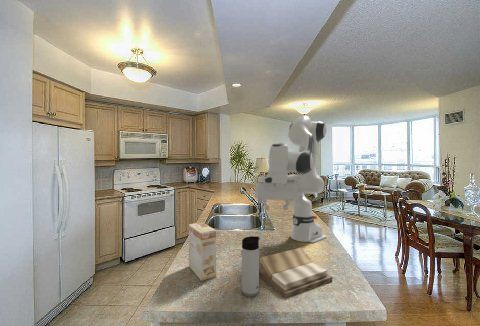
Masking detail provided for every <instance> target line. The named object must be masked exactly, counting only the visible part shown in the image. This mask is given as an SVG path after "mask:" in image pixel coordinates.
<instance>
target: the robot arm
mask: <svg viewBox="0 0 480 326" xmlns="http://www.w3.org/2000/svg"><path fill="white" fill-rule="evenodd" d="M326 134H327V126H326V124H325V122H323V121H313V120H312V119H311V118H310V117H309V116H307V115H300V116H299V117H297V118H296V119H294V121H293V123H291V124H290V125H289V129H288V134H287V135H288V138H289V141H290V142H291V143H292V144H294V145H295V146H299V148H298V151H289V145H288V144H287V143H283V142H282V143H281V142H280V143H279V142H278V143H273V144H271V145H270V149H269V154H268V166H269V167H268V171H267V174H264V175H261V176H258V177H257V183H256V184H255V190H254V197H255V199H256V200H259V201H261V202H262V204H263V208H264V209H263V210H266V211H267V210H269V209H270V207H269V206H270V205H267V202H268V200H269V201H270V200H271V201H272V200H273V201H274V200H275V201H277V200H278V201H281V200H282V201H283V200H285V204H283V207H282V209H283V210H285V211H287V210H288V209H289V205H290V204H291V201H292V205H293V206H292V207H293V208H292V209H293V214H292V229H291V233H290V238H291V240H294V241H296V242H301V243H302V242H306V243H312V244H314V243H317V242H319V241H322V240H324V239H327V235H326V234H325V233H323V228H322V226H321V225H319V224H318V223H317V222H316V221H315V220H317V219H318V216H317V215H313V204H312V201H311V200H310V199H308V198H307V197H306V196H305V194H311V195H312V194H313V195H315V194H321V193H322V192H323V190H324V189H325V182H324V179H323V177H321V176H320V175H319V174H318V172H317V167H316V161H317V155H318V153H317V152H318V144H317V143H320V142H321V141H322V140H323V139H324V138H325V137H326ZM289 173H295V174H289ZM296 173H297V174H296ZM298 173H299V174H298Z"/></svg>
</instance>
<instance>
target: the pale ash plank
mask: <svg viewBox="0 0 480 326" xmlns="http://www.w3.org/2000/svg"><path fill="white" fill-rule="evenodd" d="M327 274H328V270H327V269H326V268H324V267H322V266H320V265H318V264H316V263H314V262H313V261H312V263H309V264H305V265H302V266H299V267H295V268H292V269H289V270H285V271H282V272H279V273H275V274H272V280H273V281H274V282H275V283H276V284H278V285H279V286H280V287H281V288H283V289H284V290H287V289H290V288H293V287H296V286H299V285H301V284H304V283H307V282H310V281H313V280H316V279H318V278H321V277H324V276H327Z"/></svg>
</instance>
